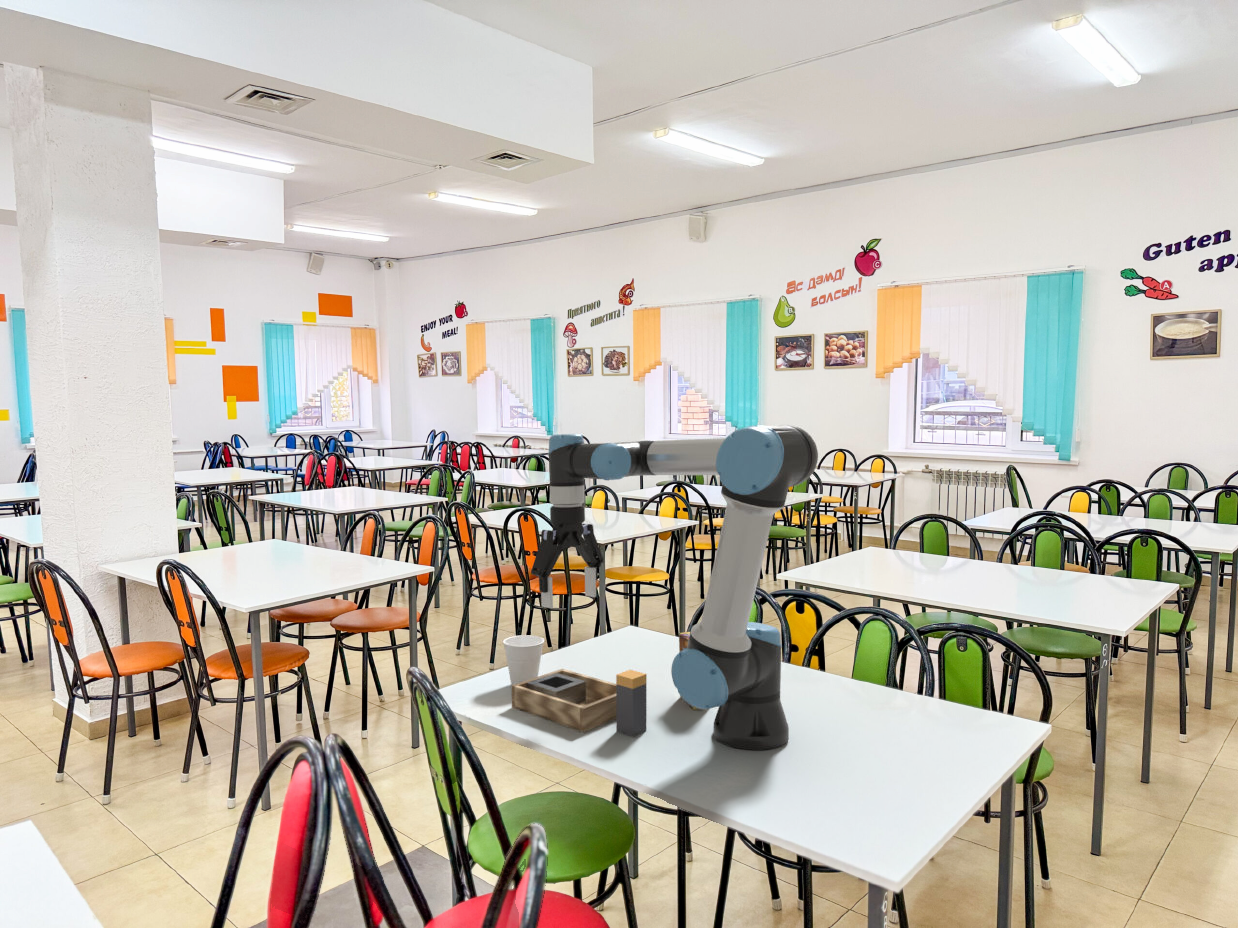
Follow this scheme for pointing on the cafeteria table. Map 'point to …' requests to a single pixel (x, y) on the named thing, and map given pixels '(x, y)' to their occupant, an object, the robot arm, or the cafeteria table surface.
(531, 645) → the cup
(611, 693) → the tray
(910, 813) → the cafeteria table surface
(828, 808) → the cafeteria table surface
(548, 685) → the frame
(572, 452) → the robot arm
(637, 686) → the connector
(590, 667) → the cafeteria table surface
